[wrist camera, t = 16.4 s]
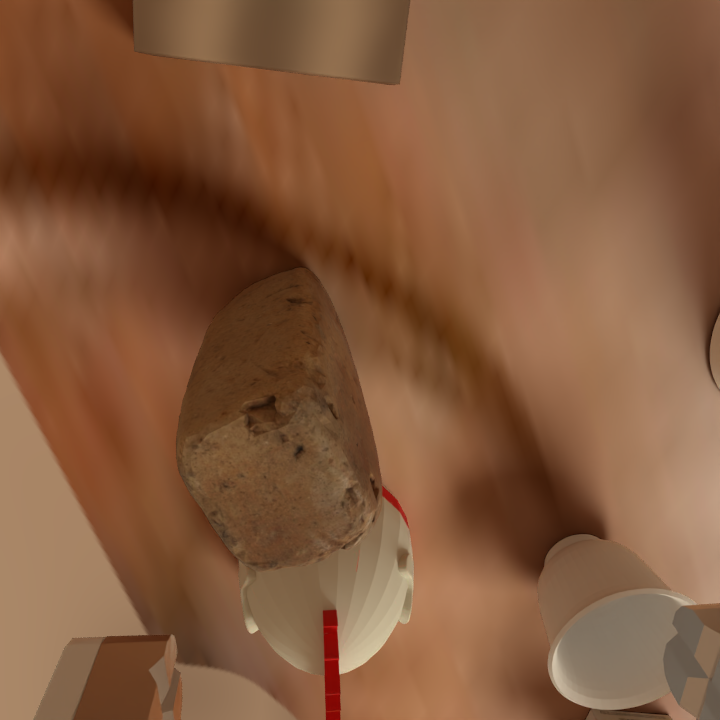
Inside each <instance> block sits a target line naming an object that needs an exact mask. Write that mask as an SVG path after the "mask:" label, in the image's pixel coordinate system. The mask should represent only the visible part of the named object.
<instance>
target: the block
mask: <svg viewBox="0 0 720 720" xmlns="http://www.w3.org/2000/svg"><path fill="white" fill-rule="evenodd" d="M176 459H177V465H178V470H179V473H180V475H181V477H182V479H183V481H184V483H185V485H186V487H187V488H188V490H189V492H190V494H191V496H192V497H193V498H194V499H195V501H196V502H197V503H198V505H199V506H200V507H201V509H202V510H203V512H204V514H205V515H206V517H207V519H208V520H209V522H210V524H211V525H212V527H213V528H214V530H215V531H216V533H217V534H218V535H219V537H220V538H221V540H222V541H223V542H224V544H225V545H226V547H227V548H228V549H229V550H230V551H231V553H232V554H233V555H234V556H235V557H236V558H237V559H238V560H239V561H240V562H242V563H243V564H244V565H246V566H248V567H250V568H252V569H253V570H255V571H258V572H267V571H275V570H278V569H281V568H293V567H304V566H307V565H310V564H313V563H317V562H320V561H324V560H325V559H327V558H329V557H330V556H331V555H332V553H333V552H335V551H338V550H339V549H344V550H349V549H351V548H353V547H355V546H357V545H358V544H360V543H361V542H362V541H363V540H364V539H365V538H366V537H367V535H368V534H369V533H370V532H371V530H372V529H373V528H374V526H375V524H376V522H377V519H378V517H379V515H380V513H381V508H382V480H381V474H380V468H379V460H378V455H377V450H376V445H375V441H374V436H373V431H372V427H371V424H370V420H369V416H368V412H367V408H366V405H365V401H364V397H363V393H362V389H361V386H360V382H359V378H358V374H357V371H356V368H355V365H354V362H353V358H352V355H351V352H350V348H349V345H348V342H347V340H346V337H345V334H344V331H343V328H342V326H341V323H340V321H339V318H338V316H337V313H336V311H335V309H334V306H333V304H332V302H331V300H330V298H329V296H328V294H327V292H326V290H325V289H324V287H323V285H322V284H321V282H320V280H319V279H318V278H317V277H316V276H315V274H314V273H312V272H311V271H310V270H308V269H307V268H303V267H299V268H294V269H292V270H289V271H285V272H281V273H278V274H276V275H273V276H271V277H268V278H266V279H263V280H261V281H259V282H256V283H254V284H252V285H251V286H249V287H247V288H246V289H244V290H243V291H242V292H241V293H239V294H238V295H237V296H236V297H235V298H234V299H232V300H231V302H230V303H229V304H228V305H227V306H226V307H224V308H223V309H222V310H221V311H219V312H218V313H217V314H216V316H215V317H214V318H213V321H212V323H211V325H210V326H209V328H208V330H207V332H206V335H205V337H204V340H203V343H202V345H201V348H200V350H199V353H198V356H197V358H196V361H195V364H194V366H193V369H192V373H191V376H190V379H189V382H188V385H187V390H186V393H185V395H184V398H183V402H182V407H181V413H180V416H179V423H178V430H177V437H176Z"/></svg>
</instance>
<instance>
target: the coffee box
mask: <svg viewBox="0 0 720 720" xmlns="http://www.w3.org/2000/svg"><path fill="white" fill-rule="evenodd" d="M586 720H672V718H671V717H670V716H669V715H659V714H647V713H635V712H623V711H612V710H600V709H591V710H590V712H589V714H588V716H587V718H586Z"/></svg>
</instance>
